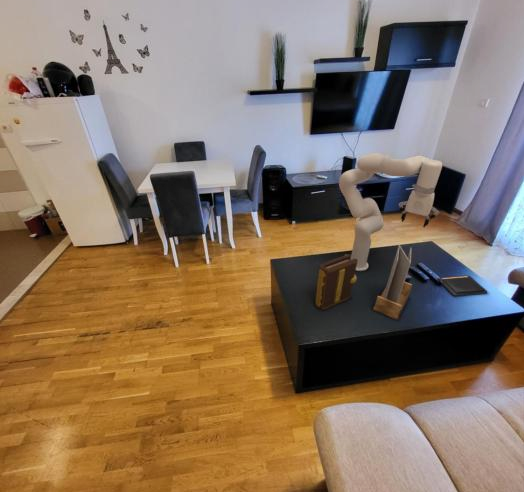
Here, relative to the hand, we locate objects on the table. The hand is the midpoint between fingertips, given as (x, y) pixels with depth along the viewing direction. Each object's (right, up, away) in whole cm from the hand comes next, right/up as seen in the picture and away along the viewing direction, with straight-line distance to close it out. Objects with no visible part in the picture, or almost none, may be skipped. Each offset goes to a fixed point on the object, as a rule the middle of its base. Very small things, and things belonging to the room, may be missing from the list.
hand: (413, 223), depth 133 cm
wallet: (+39, -33, +22) cm, 55 cm away
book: (-34, -39, +15) cm, 54 cm away
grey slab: (-6, -39, +12) cm, 42 cm away
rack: (-5, -41, +12) cm, 43 cm away
